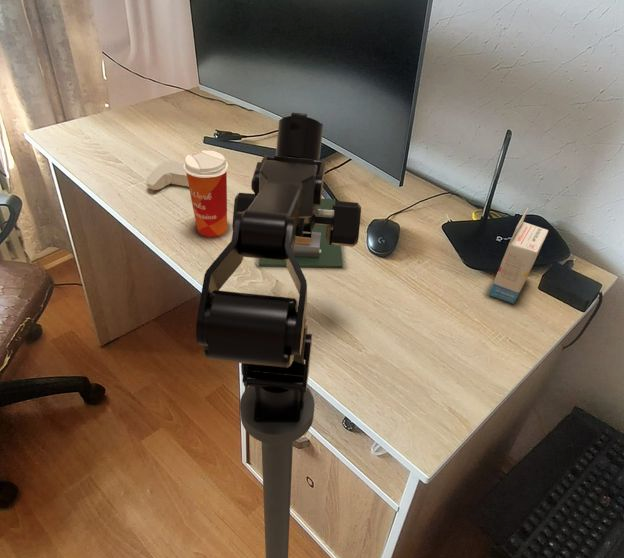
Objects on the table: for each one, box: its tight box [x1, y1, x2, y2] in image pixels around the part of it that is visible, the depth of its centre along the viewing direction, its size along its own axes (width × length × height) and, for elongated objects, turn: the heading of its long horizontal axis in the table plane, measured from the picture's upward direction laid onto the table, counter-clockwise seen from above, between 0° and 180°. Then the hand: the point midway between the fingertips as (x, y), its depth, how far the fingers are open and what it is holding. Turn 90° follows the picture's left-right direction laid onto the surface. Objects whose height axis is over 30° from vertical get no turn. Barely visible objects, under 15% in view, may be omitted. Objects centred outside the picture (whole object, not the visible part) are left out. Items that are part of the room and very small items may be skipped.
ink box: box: [488, 207, 549, 305], centre depth 93 cm, size 8×5×15 cm, turn 150°
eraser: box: [294, 232, 321, 258], centre depth 98 cm, size 5×7×14 cm
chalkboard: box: [258, 198, 344, 269], centre depth 108 cm, size 24×16×1 cm, turn 2°
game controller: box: [146, 160, 189, 191], centre depth 116 cm, size 14×4×10 cm
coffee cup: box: [183, 149, 229, 238], centre depth 101 cm, size 8×8×15 cm
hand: (299, 231), depth 86 cm, fingers open, 9 cm apart
